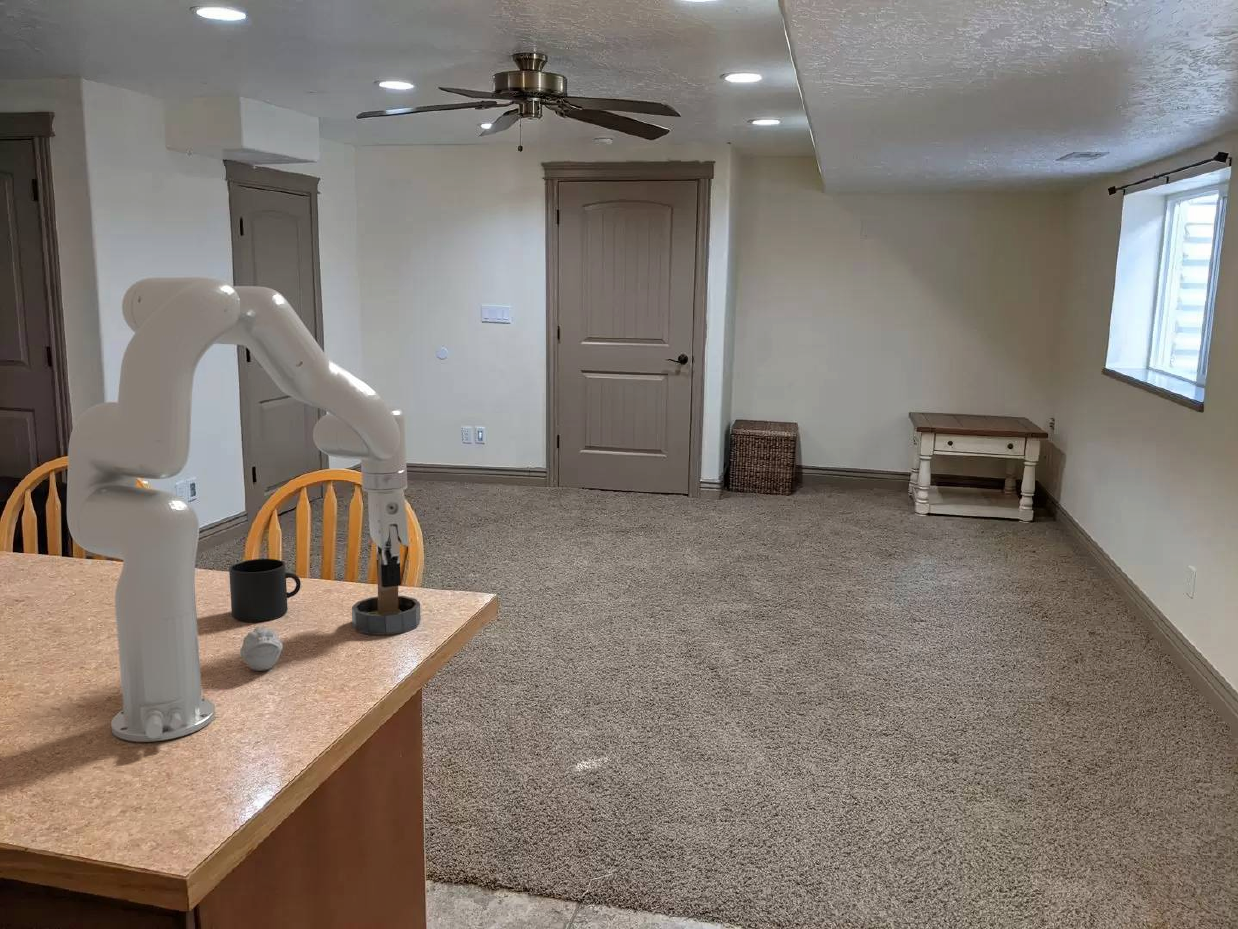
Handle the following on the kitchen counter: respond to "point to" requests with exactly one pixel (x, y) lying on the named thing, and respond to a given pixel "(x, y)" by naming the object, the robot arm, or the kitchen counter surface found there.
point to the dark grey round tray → (385, 617)
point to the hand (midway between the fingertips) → (389, 582)
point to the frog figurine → (261, 648)
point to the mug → (260, 589)
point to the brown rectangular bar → (386, 594)
